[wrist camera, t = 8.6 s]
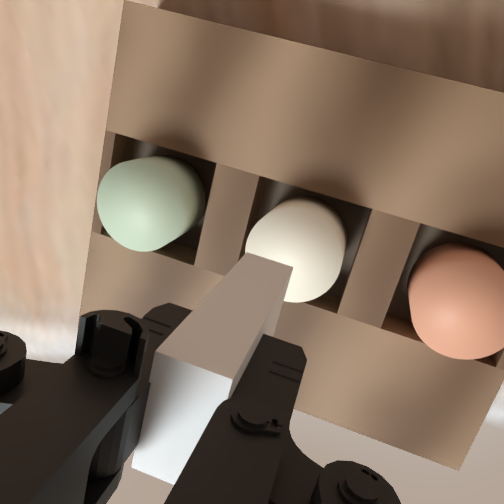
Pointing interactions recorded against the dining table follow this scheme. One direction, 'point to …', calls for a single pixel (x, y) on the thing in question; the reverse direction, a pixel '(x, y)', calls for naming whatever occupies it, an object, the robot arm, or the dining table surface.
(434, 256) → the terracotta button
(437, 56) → the dining table surface
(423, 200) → the wooden egg tray
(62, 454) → the robot arm
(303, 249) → the white egg
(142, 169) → the pale green egg
